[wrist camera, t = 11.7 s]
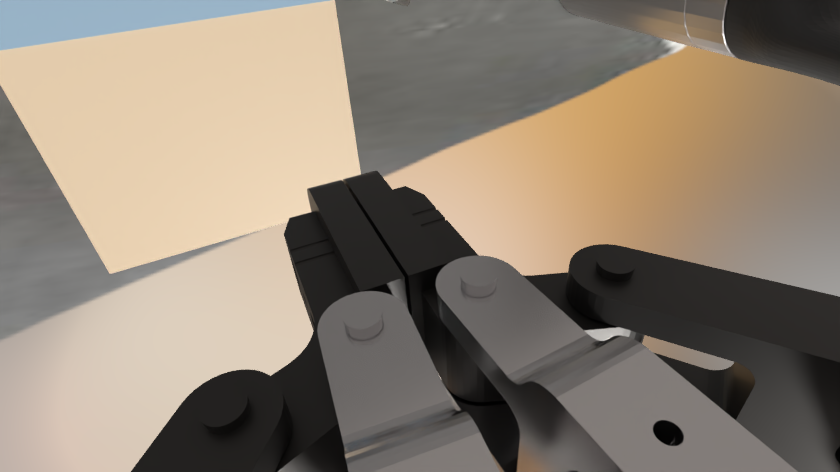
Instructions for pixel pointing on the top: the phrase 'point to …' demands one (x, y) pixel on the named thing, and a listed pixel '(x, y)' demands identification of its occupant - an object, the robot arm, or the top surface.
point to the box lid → (180, 114)
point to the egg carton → (400, 2)
